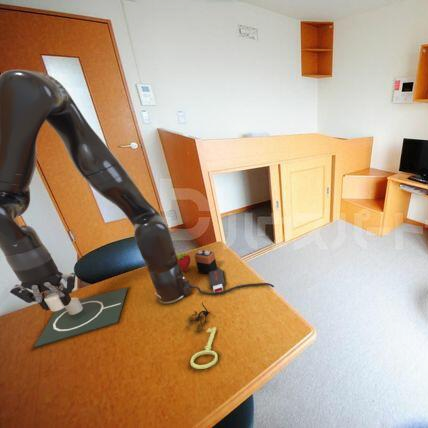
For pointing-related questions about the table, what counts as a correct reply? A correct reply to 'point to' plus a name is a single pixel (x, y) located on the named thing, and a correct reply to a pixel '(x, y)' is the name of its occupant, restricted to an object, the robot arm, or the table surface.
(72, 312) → the eye puck
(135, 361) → the table surface
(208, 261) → the battery
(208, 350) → the key
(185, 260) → the strawberry
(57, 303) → the eye puck
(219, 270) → the usb drive
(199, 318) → the creature
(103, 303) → the chalkboard
